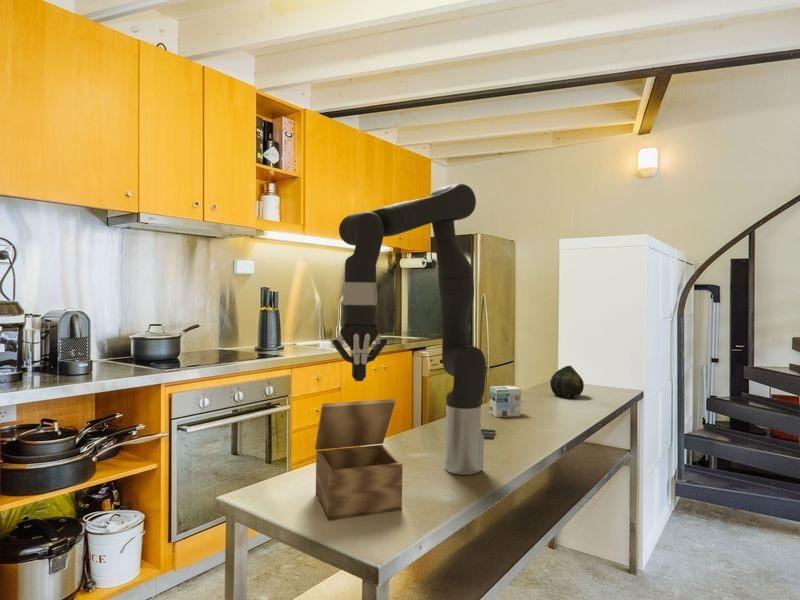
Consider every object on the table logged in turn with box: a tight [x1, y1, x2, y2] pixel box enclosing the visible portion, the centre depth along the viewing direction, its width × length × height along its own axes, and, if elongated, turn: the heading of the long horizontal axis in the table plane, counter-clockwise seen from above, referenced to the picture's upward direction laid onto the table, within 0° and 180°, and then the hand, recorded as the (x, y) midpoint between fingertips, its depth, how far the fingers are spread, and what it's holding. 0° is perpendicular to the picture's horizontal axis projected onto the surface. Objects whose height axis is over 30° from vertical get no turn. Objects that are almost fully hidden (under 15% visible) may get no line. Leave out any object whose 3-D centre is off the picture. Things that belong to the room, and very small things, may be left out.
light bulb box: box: [488, 385, 522, 418], centre depth 192 cm, size 11×7×11 cm, turn 104°
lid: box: [314, 398, 396, 451], centre depth 113 cm, size 16×14×1 cm
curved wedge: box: [481, 428, 496, 440], centre depth 164 cm, size 8×14×2 cm, turn 74°
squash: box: [549, 365, 585, 399], centre depth 229 cm, size 14×15×15 cm
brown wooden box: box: [315, 444, 403, 522], centre depth 110 cm, size 16×14×10 cm
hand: (358, 380), depth 110 cm, fingers closed
